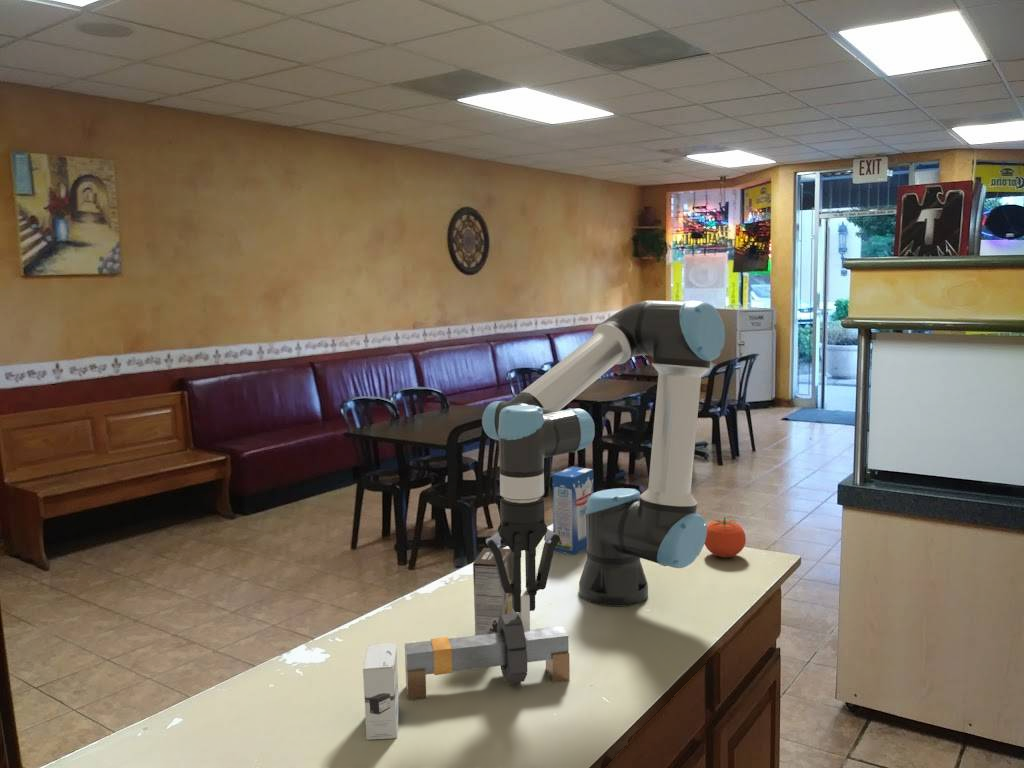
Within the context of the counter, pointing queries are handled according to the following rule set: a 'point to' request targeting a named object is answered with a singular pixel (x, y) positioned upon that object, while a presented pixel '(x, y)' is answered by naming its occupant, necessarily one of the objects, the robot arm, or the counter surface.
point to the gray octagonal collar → (513, 647)
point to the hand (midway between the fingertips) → (524, 628)
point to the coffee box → (490, 591)
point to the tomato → (724, 538)
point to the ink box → (381, 691)
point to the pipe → (482, 656)
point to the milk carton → (571, 508)
